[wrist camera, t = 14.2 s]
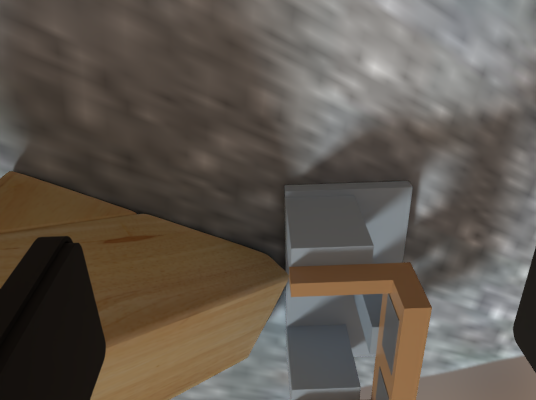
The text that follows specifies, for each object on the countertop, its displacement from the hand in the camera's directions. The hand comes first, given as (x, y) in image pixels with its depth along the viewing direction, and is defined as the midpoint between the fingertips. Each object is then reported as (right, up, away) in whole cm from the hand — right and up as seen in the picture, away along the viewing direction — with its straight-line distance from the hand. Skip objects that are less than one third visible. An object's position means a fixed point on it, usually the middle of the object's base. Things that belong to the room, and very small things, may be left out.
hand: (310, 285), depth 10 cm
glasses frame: (+5, -10, +30) cm, 32 cm away
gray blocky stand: (+6, -6, +38) cm, 39 cm away
